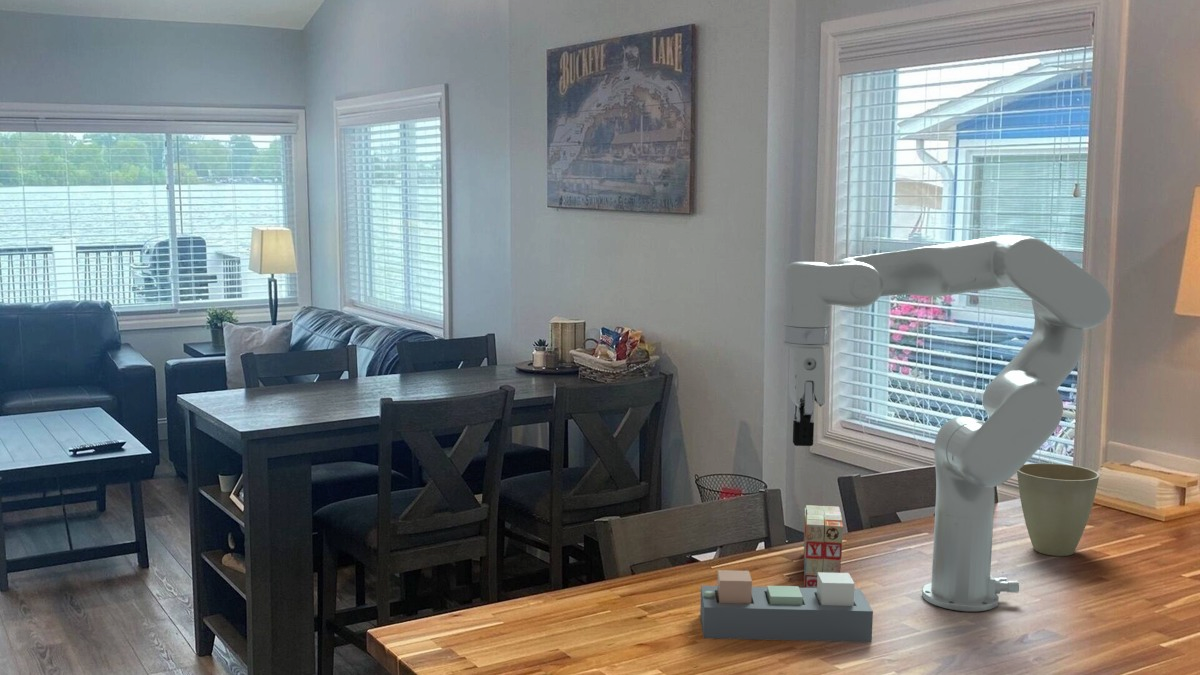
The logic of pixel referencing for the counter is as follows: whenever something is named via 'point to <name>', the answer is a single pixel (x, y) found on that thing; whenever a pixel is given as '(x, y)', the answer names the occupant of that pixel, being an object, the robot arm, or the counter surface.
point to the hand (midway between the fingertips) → (802, 444)
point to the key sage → (784, 595)
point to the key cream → (835, 589)
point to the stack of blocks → (821, 542)
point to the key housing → (785, 618)
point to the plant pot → (1056, 504)
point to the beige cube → (734, 587)
